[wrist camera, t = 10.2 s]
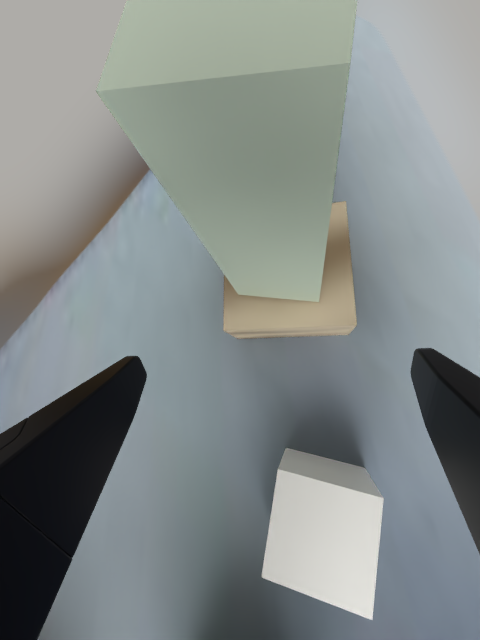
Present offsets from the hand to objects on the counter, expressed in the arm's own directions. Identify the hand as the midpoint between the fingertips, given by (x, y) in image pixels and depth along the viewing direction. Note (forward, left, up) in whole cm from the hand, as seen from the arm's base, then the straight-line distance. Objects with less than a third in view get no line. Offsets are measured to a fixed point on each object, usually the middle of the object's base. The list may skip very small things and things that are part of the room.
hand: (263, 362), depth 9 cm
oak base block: (+7, +1, -12) cm, 13 cm away
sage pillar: (+7, +1, -8) cm, 10 cm away
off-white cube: (-7, -3, -12) cm, 14 cm away
